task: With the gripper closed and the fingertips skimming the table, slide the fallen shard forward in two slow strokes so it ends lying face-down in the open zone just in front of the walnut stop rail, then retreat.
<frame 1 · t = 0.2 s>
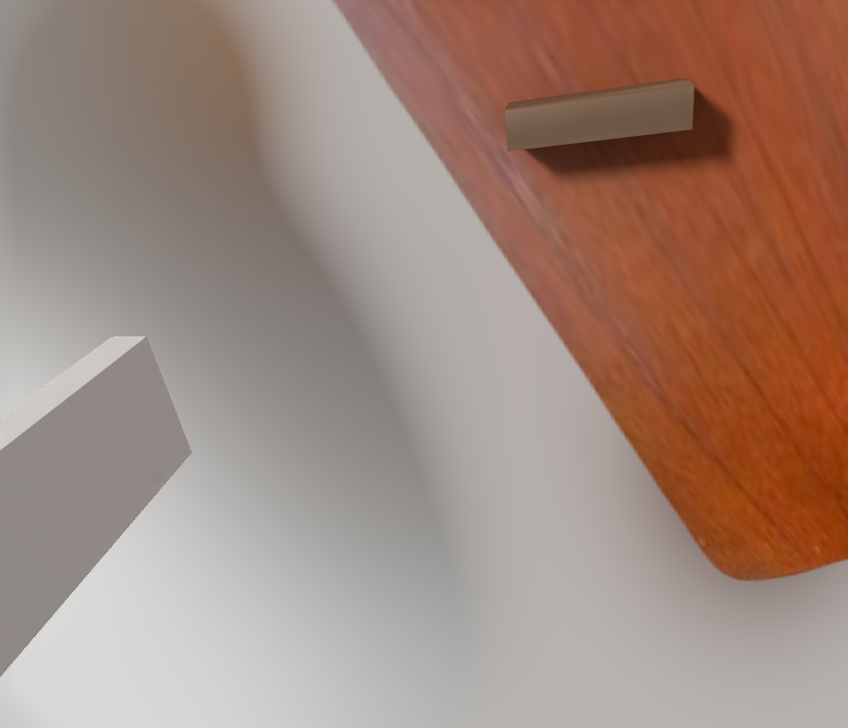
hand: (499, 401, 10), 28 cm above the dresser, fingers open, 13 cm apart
walnut rail: (594, 111, 33), on the dresser
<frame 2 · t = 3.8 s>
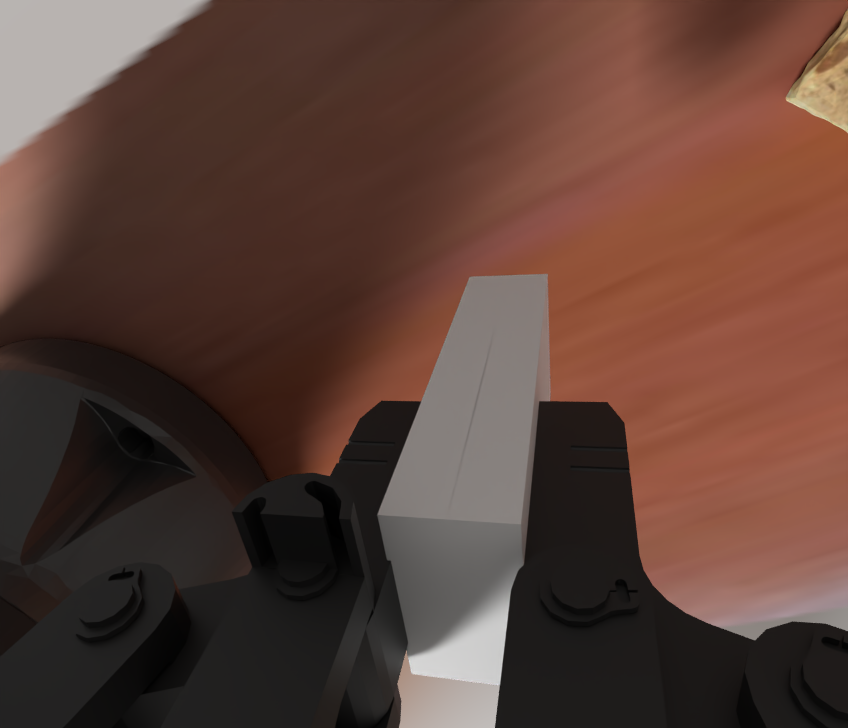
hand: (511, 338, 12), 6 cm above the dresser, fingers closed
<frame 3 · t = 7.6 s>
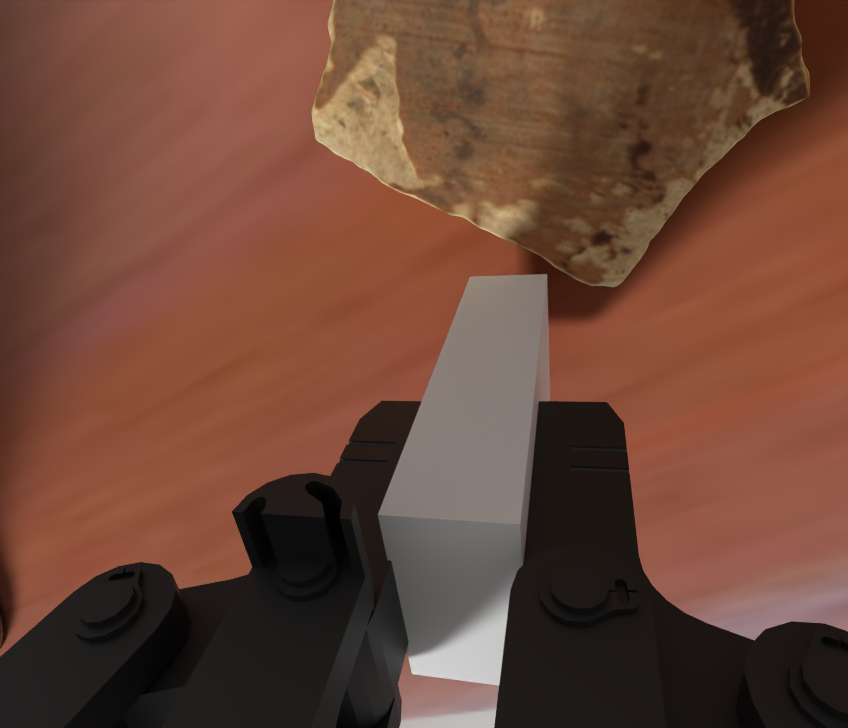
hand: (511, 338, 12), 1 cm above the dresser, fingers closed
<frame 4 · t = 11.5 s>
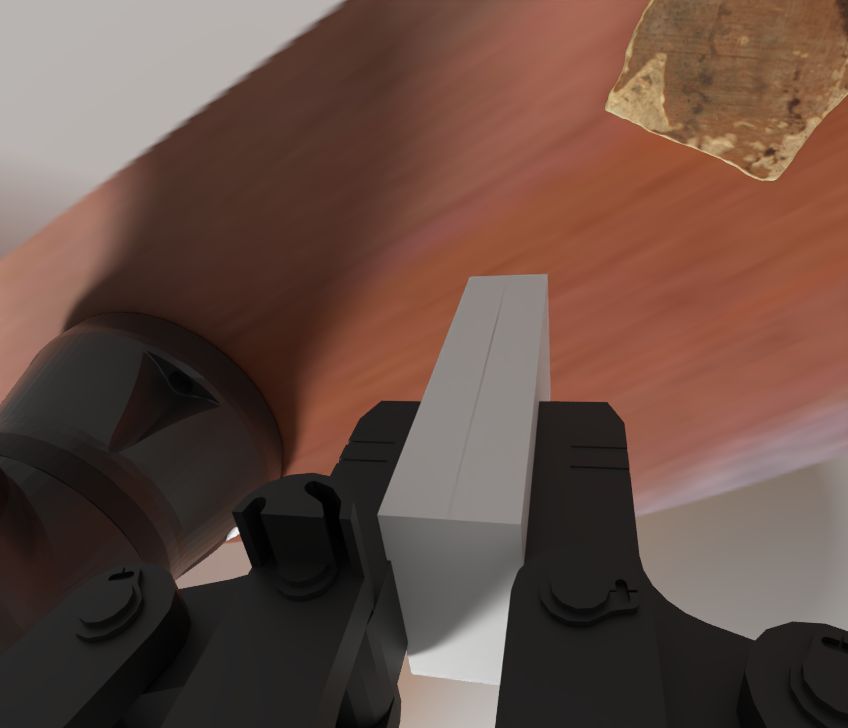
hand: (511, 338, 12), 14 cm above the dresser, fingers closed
shard: (707, 6, 20), on the dresser
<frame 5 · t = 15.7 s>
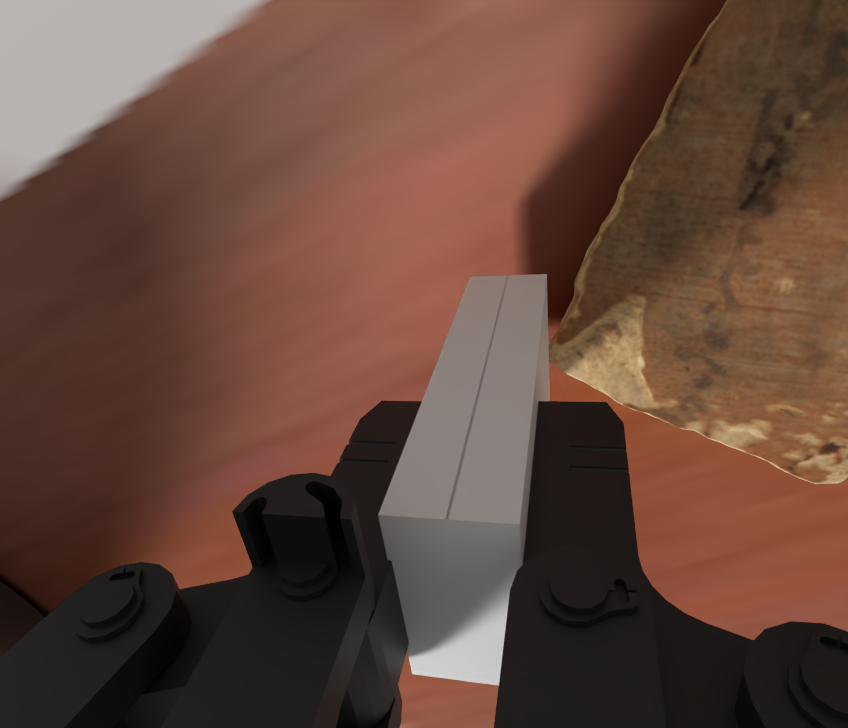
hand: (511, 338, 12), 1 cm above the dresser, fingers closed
shard: (713, 199, 12), on the dresser, touching gripper
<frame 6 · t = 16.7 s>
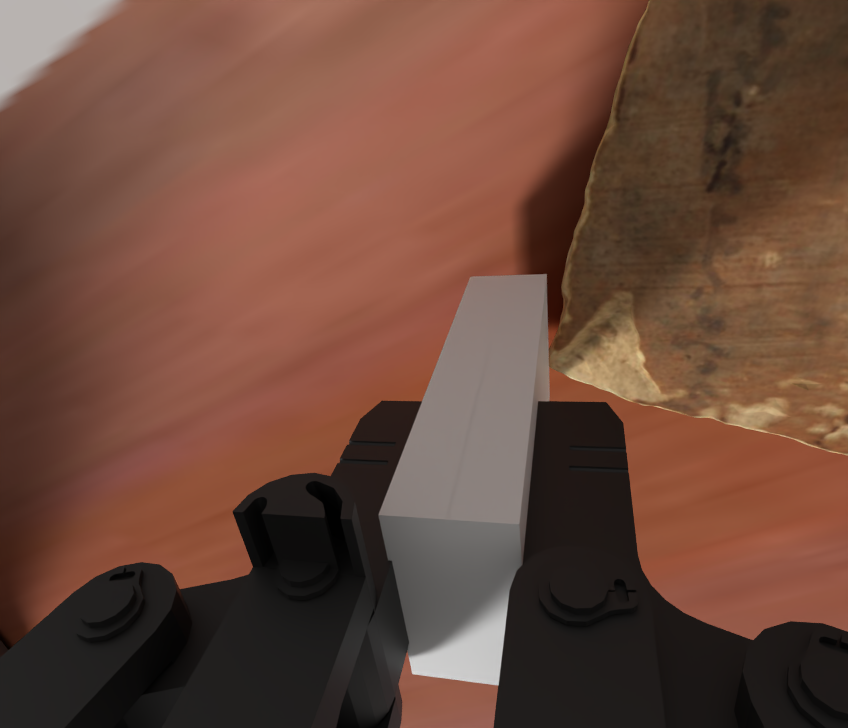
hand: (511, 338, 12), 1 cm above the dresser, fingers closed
shard: (689, 184, 12), on the dresser, touching gripper
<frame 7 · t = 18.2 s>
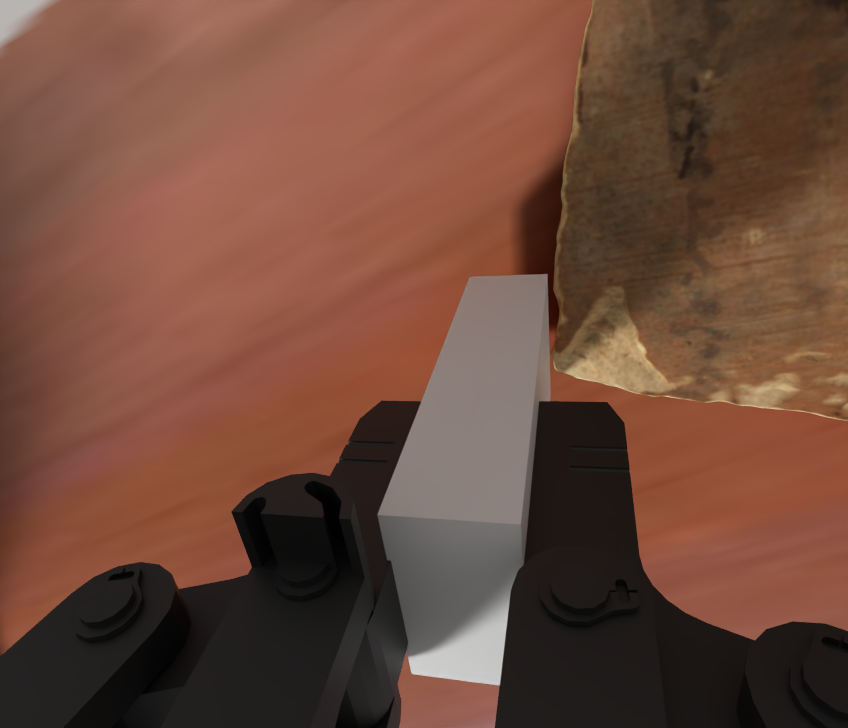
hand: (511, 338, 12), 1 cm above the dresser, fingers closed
shard: (668, 173, 12), on the dresser
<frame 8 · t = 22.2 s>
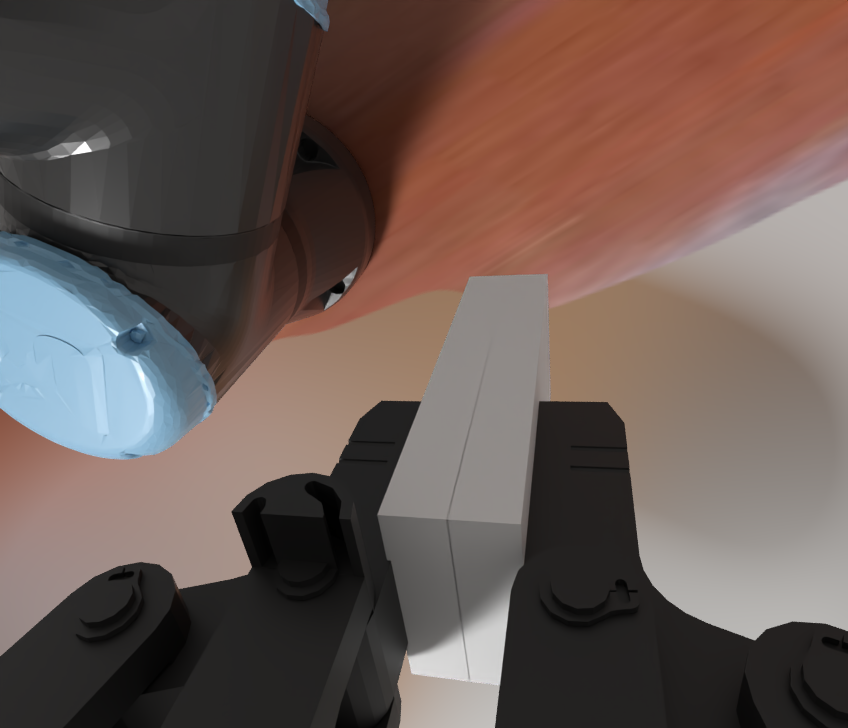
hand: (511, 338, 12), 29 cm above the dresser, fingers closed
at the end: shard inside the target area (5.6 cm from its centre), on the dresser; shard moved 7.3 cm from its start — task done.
